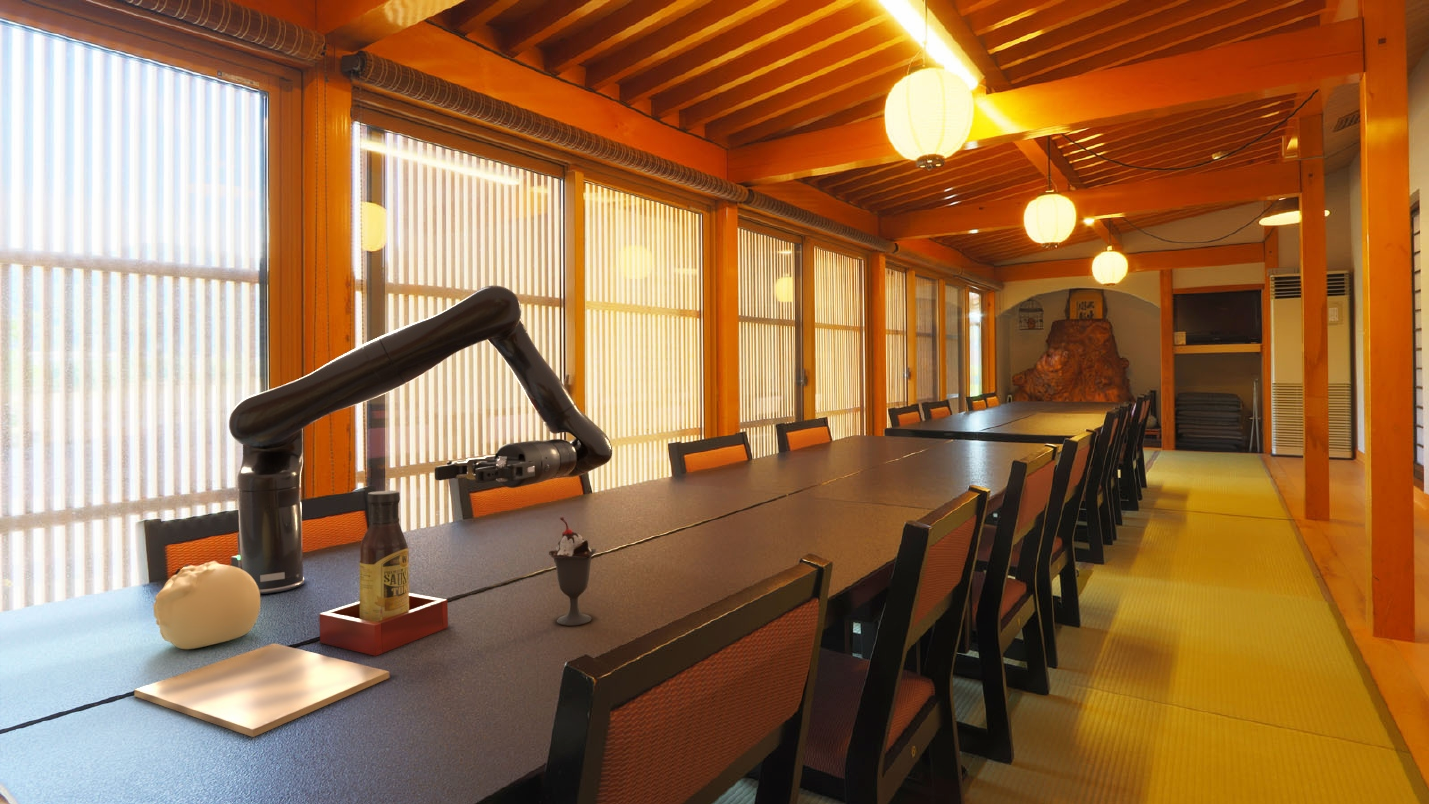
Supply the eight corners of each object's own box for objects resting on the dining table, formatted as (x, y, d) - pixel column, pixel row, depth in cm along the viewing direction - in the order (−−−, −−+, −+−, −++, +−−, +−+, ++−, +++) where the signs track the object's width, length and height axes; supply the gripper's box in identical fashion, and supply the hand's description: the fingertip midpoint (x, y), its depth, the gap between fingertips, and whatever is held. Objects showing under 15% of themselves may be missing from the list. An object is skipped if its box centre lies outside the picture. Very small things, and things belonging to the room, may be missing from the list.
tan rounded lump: (168, 634, 103) (165, 558, 103) (267, 622, 108) (265, 549, 107) (142, 663, 92) (139, 578, 92) (253, 648, 97) (250, 567, 97)
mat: (134, 696, 83) (133, 689, 83) (274, 649, 97) (274, 643, 97) (253, 737, 73) (252, 729, 73) (389, 678, 87) (389, 671, 87)
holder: (319, 643, 99) (318, 613, 99) (394, 616, 110) (393, 590, 109) (375, 656, 94) (374, 625, 94) (448, 627, 105) (447, 599, 105)
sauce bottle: (391, 644, 98) (386, 496, 97) (349, 642, 99) (345, 495, 99) (420, 628, 104) (416, 489, 104) (381, 625, 106) (377, 488, 105)
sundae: (553, 614, 110) (551, 514, 109) (598, 612, 111) (597, 513, 110) (547, 629, 103) (545, 523, 103) (595, 627, 104) (593, 521, 103)
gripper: (495, 440, 131) (422, 449, 116) (559, 442, 124) (490, 452, 110) (497, 482, 131) (424, 496, 116) (561, 486, 124) (491, 501, 110)
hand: (456, 474), depth 113 cm, fingers open, 8 cm apart
